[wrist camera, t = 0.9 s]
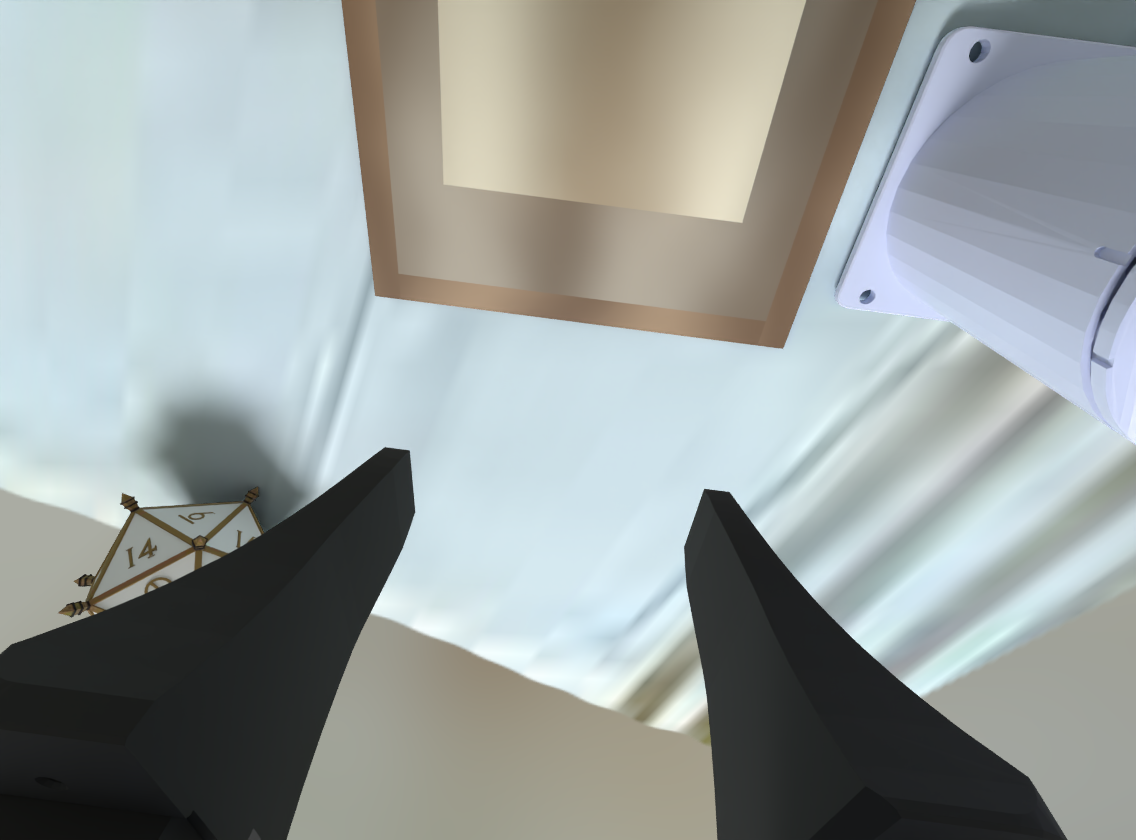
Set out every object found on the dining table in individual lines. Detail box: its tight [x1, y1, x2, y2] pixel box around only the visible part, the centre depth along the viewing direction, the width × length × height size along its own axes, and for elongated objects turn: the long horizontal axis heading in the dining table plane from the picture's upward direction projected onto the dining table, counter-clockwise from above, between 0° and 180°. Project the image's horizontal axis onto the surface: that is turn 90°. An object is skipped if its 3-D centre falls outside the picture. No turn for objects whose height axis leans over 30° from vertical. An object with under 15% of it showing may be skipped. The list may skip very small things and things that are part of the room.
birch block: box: [438, 0, 806, 223], centre depth 13 cm, size 8×8×4 cm
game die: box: [59, 487, 264, 617], centre depth 24 cm, size 9×8×10 cm
